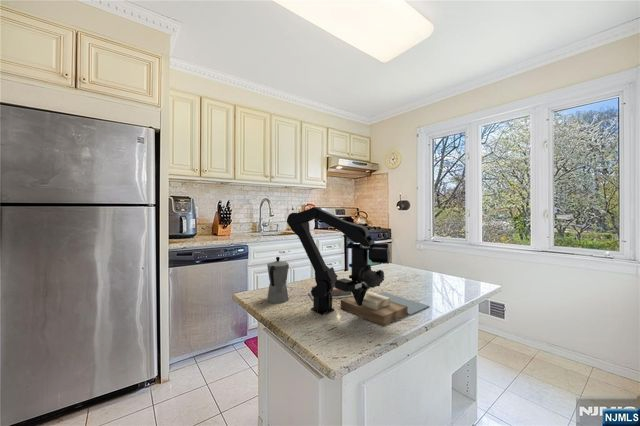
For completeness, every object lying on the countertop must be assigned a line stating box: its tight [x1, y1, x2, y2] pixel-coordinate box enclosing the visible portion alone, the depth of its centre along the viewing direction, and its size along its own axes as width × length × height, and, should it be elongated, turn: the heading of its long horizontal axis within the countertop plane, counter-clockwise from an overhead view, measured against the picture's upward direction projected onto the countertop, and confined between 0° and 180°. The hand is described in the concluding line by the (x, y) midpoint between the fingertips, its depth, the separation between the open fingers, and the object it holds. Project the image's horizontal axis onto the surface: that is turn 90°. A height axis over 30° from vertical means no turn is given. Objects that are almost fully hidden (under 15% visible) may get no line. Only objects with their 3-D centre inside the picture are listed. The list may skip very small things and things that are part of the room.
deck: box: [340, 296, 409, 327], centre depth 97 cm, size 14×20×3 cm
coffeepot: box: [266, 256, 290, 304], centre depth 109 cm, size 15×9×18 cm, turn 172°
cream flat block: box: [355, 291, 390, 310], centre depth 97 cm, size 8×10×2 cm
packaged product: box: [307, 285, 353, 301], centre depth 115 cm, size 18×5×10 cm
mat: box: [377, 291, 430, 317], centre depth 106 cm, size 13×22×1 cm, turn 39°
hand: (359, 305), depth 92 cm, fingers closed
